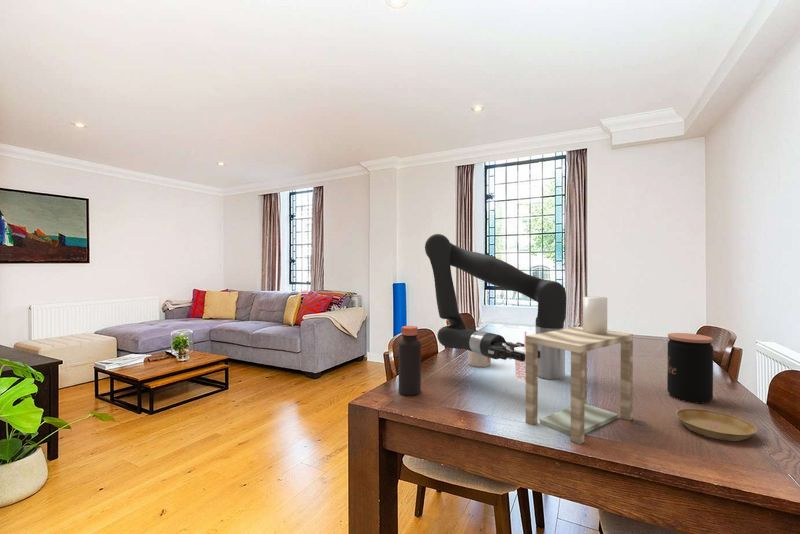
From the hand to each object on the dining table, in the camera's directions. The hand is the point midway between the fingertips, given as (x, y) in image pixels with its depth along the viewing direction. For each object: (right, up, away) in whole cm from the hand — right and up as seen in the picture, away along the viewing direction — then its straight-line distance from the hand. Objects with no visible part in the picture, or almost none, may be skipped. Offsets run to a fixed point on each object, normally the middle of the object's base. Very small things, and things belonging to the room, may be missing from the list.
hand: (532, 356), depth 106 cm
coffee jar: (+48, -13, +5) cm, 50 cm away
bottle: (-34, -14, +10) cm, 38 cm away
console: (+8, -14, -11) cm, 19 cm away
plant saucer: (+37, -14, -17) cm, 43 cm away
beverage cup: (-2, -8, +2) cm, 8 cm away
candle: (+14, +8, -8) cm, 18 cm away
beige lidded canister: (-6, -13, +43) cm, 46 cm away
